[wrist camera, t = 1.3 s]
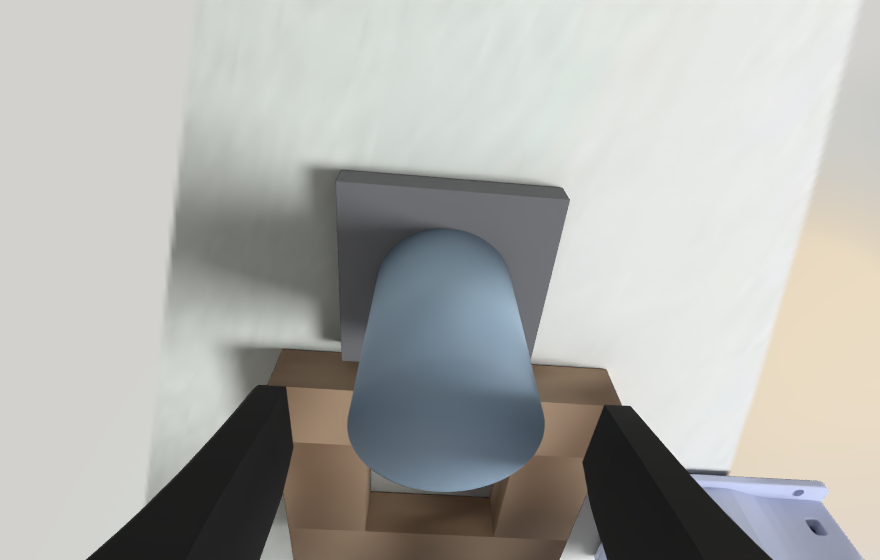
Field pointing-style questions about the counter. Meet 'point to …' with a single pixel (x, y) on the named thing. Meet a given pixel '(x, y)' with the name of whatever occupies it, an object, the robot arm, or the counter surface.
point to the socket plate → (430, 516)
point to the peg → (445, 369)
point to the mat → (449, 207)
